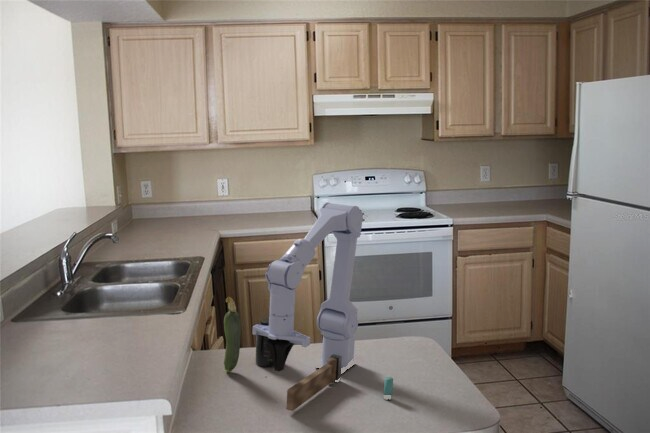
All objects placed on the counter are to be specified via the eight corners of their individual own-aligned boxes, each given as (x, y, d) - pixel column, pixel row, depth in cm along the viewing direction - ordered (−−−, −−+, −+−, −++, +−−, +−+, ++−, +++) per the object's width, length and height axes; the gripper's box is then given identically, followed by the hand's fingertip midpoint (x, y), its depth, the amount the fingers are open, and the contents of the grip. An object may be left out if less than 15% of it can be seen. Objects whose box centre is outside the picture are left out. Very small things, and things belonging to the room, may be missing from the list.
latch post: (385, 396, 140) (386, 376, 140) (393, 398, 139) (394, 378, 139) (381, 399, 139) (383, 379, 138) (389, 401, 138) (391, 381, 137)
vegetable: (240, 370, 151) (243, 294, 148) (238, 376, 147) (241, 299, 144) (223, 369, 151) (225, 294, 148) (220, 376, 147) (223, 298, 144)
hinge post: (331, 378, 149) (333, 354, 148) (340, 380, 148) (341, 356, 147) (329, 380, 148) (330, 356, 147) (337, 383, 146) (338, 358, 146)
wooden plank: (328, 378, 147) (329, 357, 146) (337, 380, 146) (338, 359, 145) (284, 409, 129) (285, 385, 128) (294, 412, 128) (295, 388, 127)
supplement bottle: (252, 359, 159) (254, 316, 157) (276, 357, 161) (278, 315, 159) (258, 369, 152) (260, 324, 151) (283, 367, 155) (285, 323, 153)
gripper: (245, 311, 133) (243, 367, 135) (300, 323, 127) (297, 383, 129) (263, 304, 140) (260, 358, 141) (316, 315, 133) (312, 372, 135)
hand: (279, 369), depth 135 cm, fingers closed
